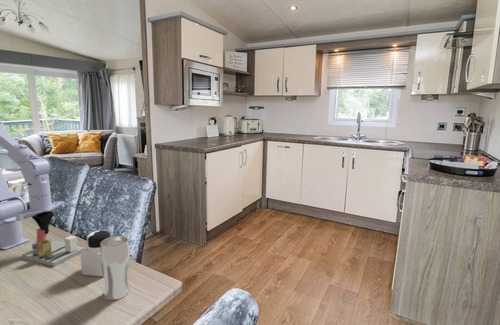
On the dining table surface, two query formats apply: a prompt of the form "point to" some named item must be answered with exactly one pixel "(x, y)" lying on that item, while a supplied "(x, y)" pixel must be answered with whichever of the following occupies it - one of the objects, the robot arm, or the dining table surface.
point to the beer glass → (115, 266)
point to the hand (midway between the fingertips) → (44, 233)
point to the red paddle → (40, 236)
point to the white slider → (70, 243)
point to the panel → (53, 254)
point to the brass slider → (44, 248)
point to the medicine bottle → (93, 254)
